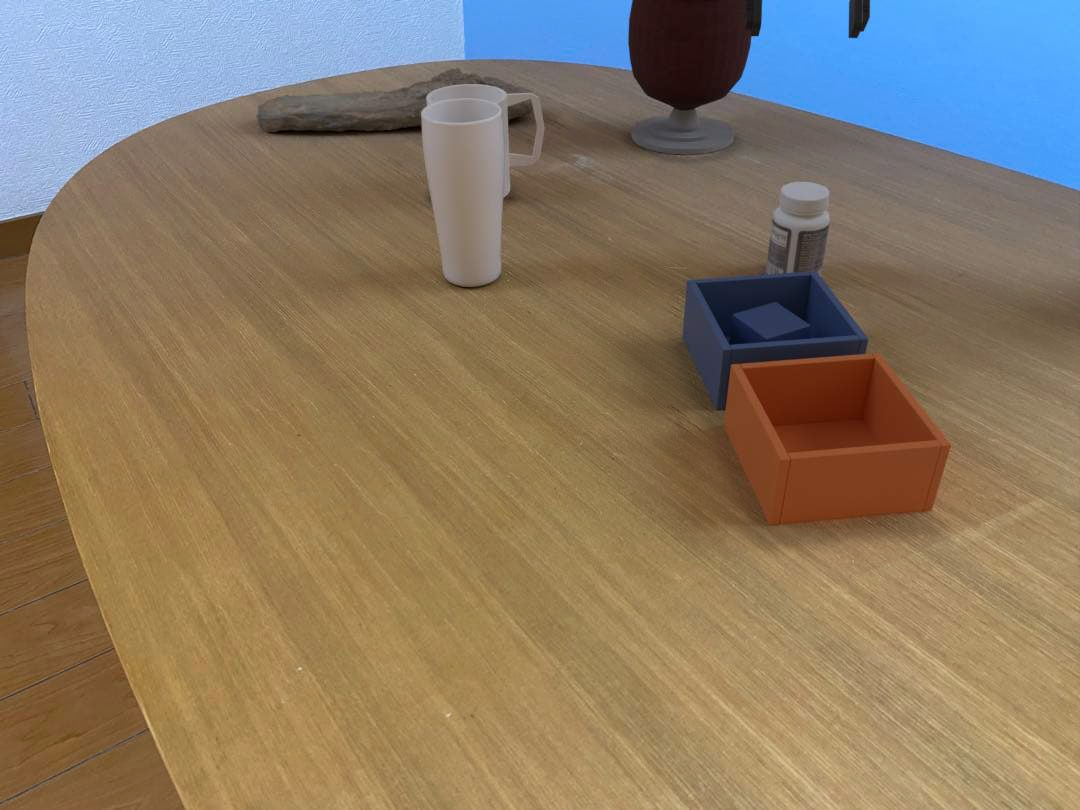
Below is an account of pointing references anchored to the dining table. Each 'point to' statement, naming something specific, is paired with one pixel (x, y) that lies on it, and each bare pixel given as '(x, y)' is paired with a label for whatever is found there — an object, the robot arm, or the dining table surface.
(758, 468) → the orange bin
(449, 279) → the drinking glass
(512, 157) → the cup
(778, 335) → the blue block
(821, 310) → the blue bin
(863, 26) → the robot arm
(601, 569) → the dining table surface
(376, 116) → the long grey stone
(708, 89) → the mate gourd
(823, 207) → the pill bottle
